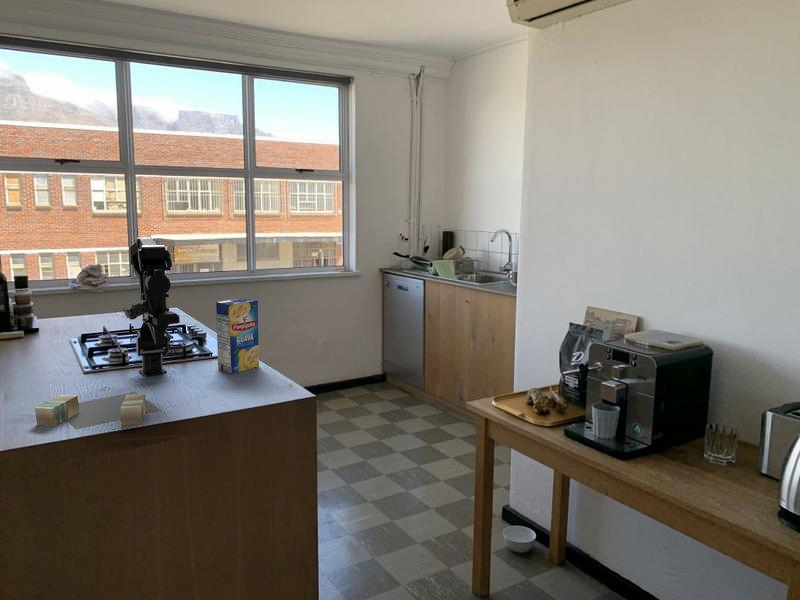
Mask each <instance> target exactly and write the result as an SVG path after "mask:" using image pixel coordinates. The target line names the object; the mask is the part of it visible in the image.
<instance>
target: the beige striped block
mask: <svg viewBox="0 0 800 600" xmlns="http://www.w3.org/2000/svg"><path fill="white" fill-rule="evenodd" d="M79 403H80V402H79V397H78V395H76V394H75V395H74V394H73V395H72V394H60V395H58V396H56V397H53V398H52V399H50V400H48V401H45V402H43V403H41V404H37V406H36V407H34V411H35V413H34V414H35V419H36V420H35V421H36V425H37V426H44V427H45V426H48V427H55V426H58V425H60V424H62V423H63V422H66V421H67V419H69V418H70V417H72V416H74V415H76V414H78V413H80V412H79Z"/></svg>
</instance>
